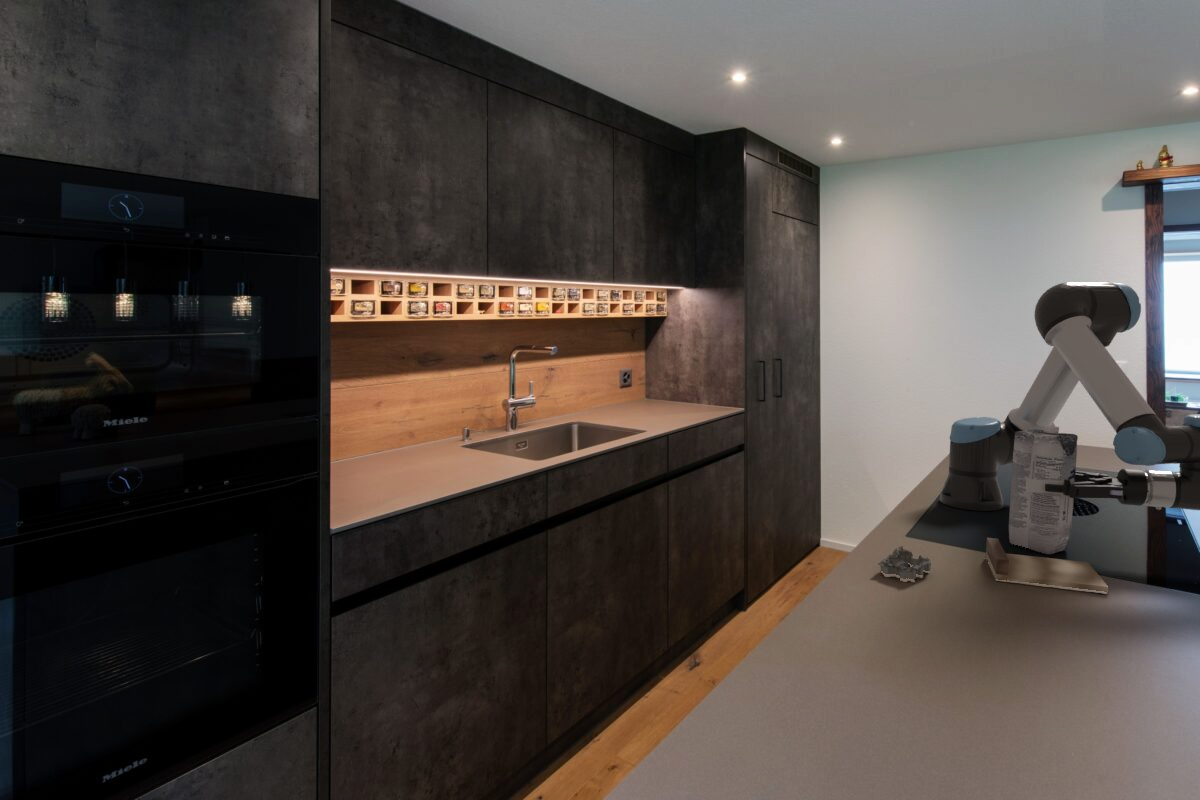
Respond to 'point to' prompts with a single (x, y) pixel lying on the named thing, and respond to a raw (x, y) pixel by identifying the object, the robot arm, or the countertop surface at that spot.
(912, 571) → the egg carton
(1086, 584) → the oak board
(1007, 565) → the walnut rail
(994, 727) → the countertop surface
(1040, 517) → the juice carton
